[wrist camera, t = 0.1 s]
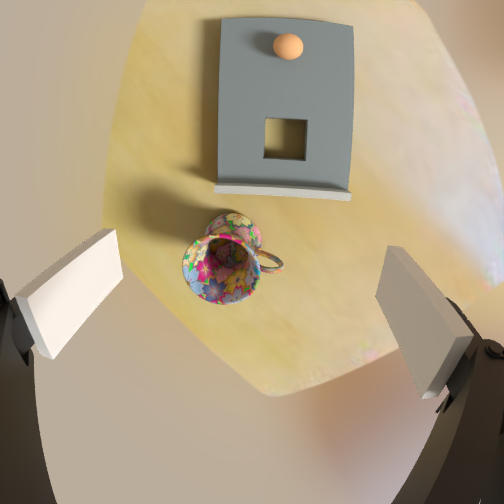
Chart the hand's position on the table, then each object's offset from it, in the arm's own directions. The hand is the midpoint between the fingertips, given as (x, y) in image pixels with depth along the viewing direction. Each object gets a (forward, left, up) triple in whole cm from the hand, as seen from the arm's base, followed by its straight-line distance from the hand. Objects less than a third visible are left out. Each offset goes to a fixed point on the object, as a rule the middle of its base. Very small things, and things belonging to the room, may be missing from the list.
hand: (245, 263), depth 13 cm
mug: (+10, -3, -28) cm, 30 cm away
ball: (-17, +2, -25) cm, 30 cm away
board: (-10, +2, -28) cm, 30 cm away
